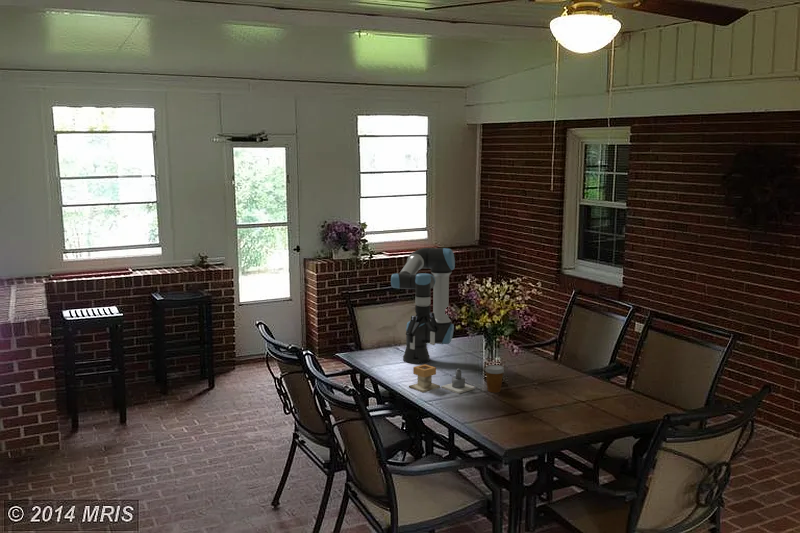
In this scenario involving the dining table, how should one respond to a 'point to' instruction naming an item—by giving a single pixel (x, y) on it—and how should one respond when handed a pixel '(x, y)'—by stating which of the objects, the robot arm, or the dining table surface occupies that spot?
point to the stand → (424, 384)
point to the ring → (424, 370)
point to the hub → (458, 384)
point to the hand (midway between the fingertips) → (422, 346)
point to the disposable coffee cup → (494, 377)
